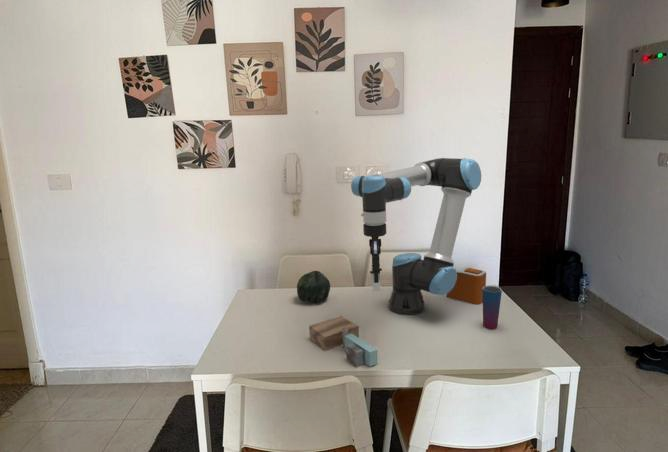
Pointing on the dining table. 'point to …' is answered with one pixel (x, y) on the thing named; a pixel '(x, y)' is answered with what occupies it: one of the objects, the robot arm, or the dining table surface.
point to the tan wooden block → (337, 337)
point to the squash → (313, 287)
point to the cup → (491, 306)
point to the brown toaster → (469, 286)
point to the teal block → (368, 350)
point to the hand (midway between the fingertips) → (376, 290)
